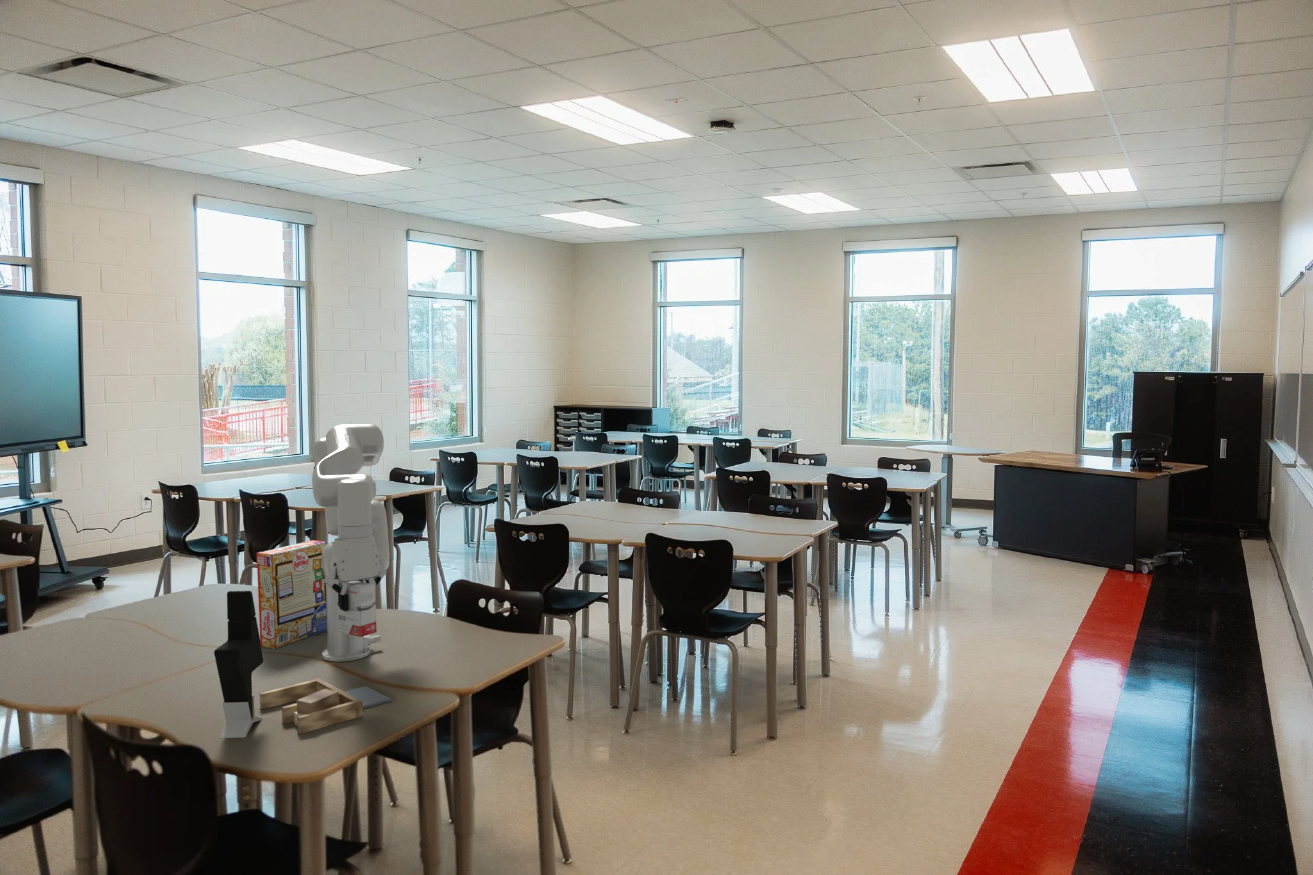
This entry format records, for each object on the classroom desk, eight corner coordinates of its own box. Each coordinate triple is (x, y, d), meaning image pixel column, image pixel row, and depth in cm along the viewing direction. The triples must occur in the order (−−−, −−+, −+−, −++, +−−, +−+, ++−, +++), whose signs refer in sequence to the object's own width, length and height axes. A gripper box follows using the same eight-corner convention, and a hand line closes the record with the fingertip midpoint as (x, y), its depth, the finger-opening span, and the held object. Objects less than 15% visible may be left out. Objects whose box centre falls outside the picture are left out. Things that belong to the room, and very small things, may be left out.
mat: (365, 688, 224) (365, 685, 224) (390, 700, 215) (390, 698, 215) (334, 696, 218) (334, 694, 218) (358, 709, 210) (358, 707, 210)
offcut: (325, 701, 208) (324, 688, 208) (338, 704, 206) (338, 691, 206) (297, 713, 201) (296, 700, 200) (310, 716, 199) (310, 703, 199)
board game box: (315, 628, 276) (312, 539, 274) (330, 630, 273) (328, 541, 271) (258, 646, 257) (255, 551, 255) (274, 649, 255) (271, 553, 253)
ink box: (377, 632, 215) (377, 583, 214) (360, 637, 211) (359, 587, 210) (353, 626, 220) (352, 578, 219) (336, 631, 216) (335, 582, 215)
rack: (318, 692, 221) (318, 678, 221) (362, 716, 206) (362, 701, 205) (259, 707, 211) (258, 692, 211) (301, 734, 196) (300, 718, 195)
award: (242, 714, 207) (238, 584, 204) (266, 714, 207) (262, 583, 205) (215, 742, 192) (210, 601, 189) (241, 741, 192) (237, 600, 190)
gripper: (381, 525, 222) (382, 598, 224) (312, 534, 210) (314, 611, 212) (396, 529, 217) (398, 604, 218) (326, 538, 205) (328, 617, 206)
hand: (356, 606), depth 215 cm, fingers closed on ink box, 5 cm apart
